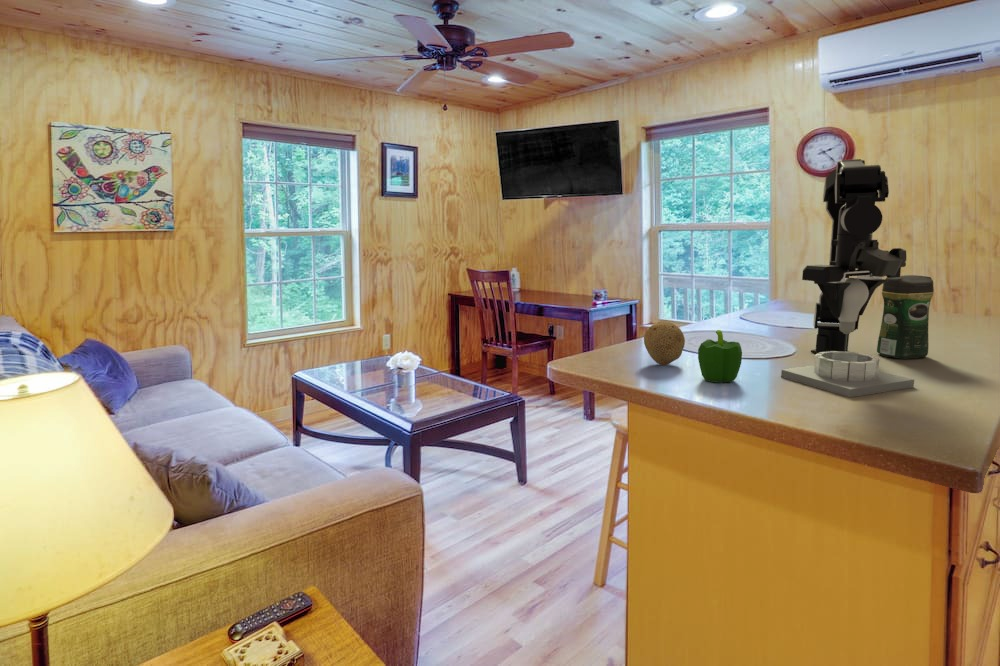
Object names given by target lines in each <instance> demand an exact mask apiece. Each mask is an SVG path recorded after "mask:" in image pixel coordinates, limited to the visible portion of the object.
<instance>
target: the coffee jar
mask: <svg viewBox="0 0 1000 666" xmlns="http://www.w3.org/2000/svg"><path fill="white" fill-rule="evenodd" d="M885 279H886V280H888V281H887V282H886V283H883V284H882V287H881V288H882V289H881V296H882V299H883V308H882V309H883V310H882V316H881V317H882V318H881V323H880V324H881V325H880V330H879V335H878V339H877V345H876V352H877V353H878V354H879V355H881V356H882V357H885V358H895V359H902V360H907V359H910V360H911V359H919V358H925V357H927V356H928V355H929V321H930V319H929V313H930V306H931V301H932V299H933V296H934V280H933V279H932V277H931V276H926V275H924V276H923V275H916V274H904V275H900V277H895V278H887V277H886V278H885Z"/></svg>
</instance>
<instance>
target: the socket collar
mask: <svg viewBox="0 0 1000 666" xmlns="http://www.w3.org/2000/svg"><path fill="white" fill-rule="evenodd" d="M814 365H815V367H814V372H815V373H816V374H817V375H819V376H822V377H826V378H829V379H835V380H842V381H861V382H863V381H871V380H875V379H876V378H877V377H878V371H879V368H880V367H879V366H880V358H878V357H876V356H874V355H872V354H871V355H870V354H866V353H862V352H856V351H849V352H847V351H845V352H844V351H826V352H819V353H815V358H814Z"/></svg>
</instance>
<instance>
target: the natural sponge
mask: <svg viewBox="0 0 1000 666" xmlns="http://www.w3.org/2000/svg"><path fill="white" fill-rule="evenodd" d="M685 339H686V338H685V335H684V332H683V331H682V329H681V328H680V327H679V326H678V325H676V324H674V323H673V322H671V321H668V320H659V321H657V322H655V323H653V324H652V325H650V326H648V328H647V330H645V333H644V336H643V344H644V347H645V349H646V351H647V353H648V355H649V357H651V359H652V360H653V361H654V362H655V363H656V364H658V365H660V366H668V365H670V364H672V363H673V362H675V361H677V360H678V359H679V358H680V357H681V356H682V353H683V350H684V348H685V342H686V340H685Z"/></svg>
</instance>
